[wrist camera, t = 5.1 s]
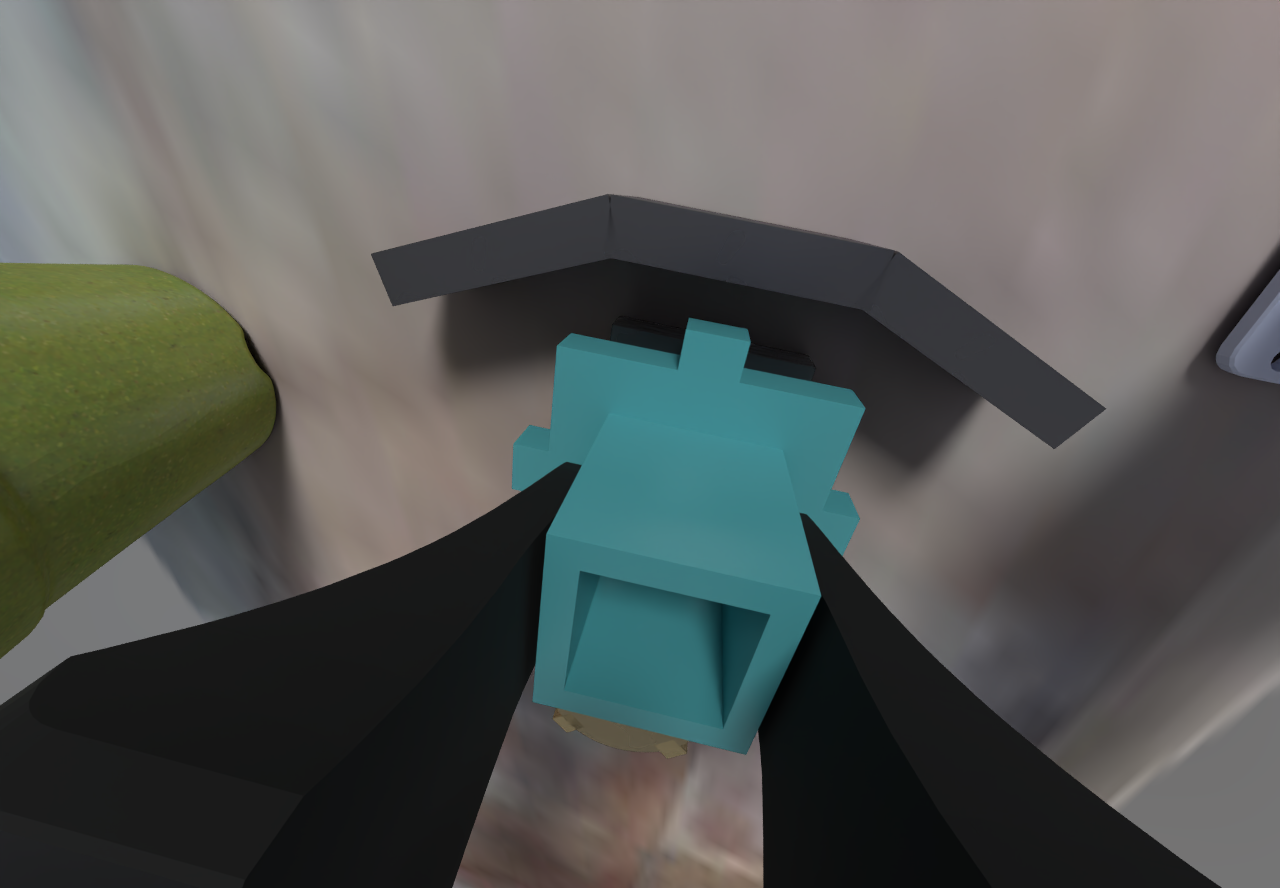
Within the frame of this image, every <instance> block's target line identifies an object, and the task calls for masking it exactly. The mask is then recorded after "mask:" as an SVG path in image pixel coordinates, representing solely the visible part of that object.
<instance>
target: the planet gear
mask: <svg viewBox="0 0 1280 888" xmlns="http://www.w3.org/2000/svg"><path fill="white" fill-rule="evenodd" d="M750 343H751V341H750V337H749V333H748V329H745V328H739V327H734V326H729V325H724V324H719V323H714V322H709V321H704V320H699V319H694V318H689V320H688V324H687V328H686V333H685V337H684V342H683V347H682V352H681V355H677V354H672V353H667V352H662V351H657V350H652V349H647V348H642V347H638V346H633V345H628V344H623V343H618V342H613V341H608V340H603V339H598V338H593V337H588V336H583V335H578V334H573V333H571V334H569V335H568V336H567V337H566V338H565V339H564V340H563V341H562V342H560V343H559V344H558V345H557V351H556V364H555V377H554V390H553V403H552V415H551V428H550V429H546V428H541V427H537V426H532V425H529V426H528V427H527V429H526V430H525V431H524V432H523V433H522V435H521V436H520V437H519V438H518V439H517V440H516V442H515V443H514V445H513V472H512V489H515V490H520V491H523V490H524V489H526V488H527V487H529V486H530V485H532V484H533V483H535V482H536V481H538V480H539V479H541V478H542V477H544V476H545V475H546V474H548V473H549V472H551V471H552V470H554V469H555V468H557V467H558V466H560V465H561V464H563V463H565V462H570V463H575V464H580V465H582V466H581V468H580V470H579V472H578V474H577V476H576V478H575V480H574V482H573V484H572V486H571V488H570V489H569V491H568V493H567V495H566V497H565V499H564V501H563V503H562V505H561V507H560V509H559V511H558V513H557V515H556V516H555V518H554V520H553V522H552V524H551V526H550V528H549V530H548V532H547V534H546V546H545V558H544V570H543V582H542V593H541V605H540V617H539V629H538V641H537V653H536V665H535V677H534V689H533V701H532V702H535V703H539V704H543V705H547V706H551V707H555V708H559V709H563V710H567V711H571V712H575V713H579V714H583V715H587V716H591V717H595V718H599V719H603V720H607V721H611V722H616V723H620V724H624V725H628V726H632V727H636V728H640V729H644V730H648V731H652V732H656V733H660V734H664V735H668V736H672V737H676V738H680V739H684V740H688V741H692V742H696V743H700V744H704V745H708V746H712V747H716V748H721V749H725V750H729V751H733V752H737V753H741V754H745V755H746V754H747V752H748V750H749V748H750V745H751V743H752V741H753V739H754V737H755V735H756V733H757V731H758V729H759V726H760V724H761V722H762V720H763V718H764V716H765V714H766V712H767V710H768V707H769V705H770V703H771V701H772V699H773V697H774V695H775V693H776V691H777V688H778V686H779V684H780V682H781V680H782V678H783V676H784V674H785V672H786V670H787V667H788V665H789V663H790V661H791V659H792V657H793V655H794V653H795V651H796V648H797V646H798V644H799V642H800V640H801V638H802V636H803V634H804V632H805V629H806V627H807V625H808V623H809V621H810V619H811V617H812V615H813V613H814V610H815V608H816V606H817V604H818V602H819V600H820V598H821V593H820V589H819V585H818V582H817V578H816V574H815V570H814V566H813V563H812V559H811V555H810V551H809V547H808V544H807V540H806V536H805V532H804V528H803V525H802V521H801V517H800V513H804V514H807V515H808V516H809V517H810V518H811V519H812V520H813V521H814V523H815V524H816V525H817V526H818V527H819V528H820V530H821V531H822V532H823V533H824V534H825V536H826V537H827V538H828V539H829V541H830V542H831V543H832V544H833V545H834V547H835V548H836V549H837V550H838V552H839V553H840V554H841V555H842V556H843V553H844V551H845V549H846V547H847V545H848V543H849V541H850V539H851V537H852V535H853V532H854V530H855V528H856V526H857V524H858V522H859V520H860V518H859V516H858V513H857V511H856V509H855V507H854V505H853V502H852V500H851V498H850V496H849V493H845V492H840V491H836V490H831V489H832V486H833V484H834V482H835V479H836V477H837V474H838V472H839V470H840V467H841V465H842V463H843V460H844V458H845V456H846V453H847V451H848V449H849V446H850V444H851V442H852V439H853V437H854V434H855V432H856V430H857V427H858V425H859V423H860V420H861V418H862V416H863V413H864V411H865V409H866V408H865V407H864V405H863V404H862V403H861V401H860V400H859V399H858V397H857V396H856V394H855V393H854V392H853V390H851V389H846V388H841V387H836V386H831V385H826V384H821V383H816V382H811V381H806V380H801V379H796V378H791V377H786V376H781V375H776V374H771V373H766V372H762V371H757V370H752V369H747V368H744V364H745V361H746V357H747V353H748V350H749V346H750Z"/></svg>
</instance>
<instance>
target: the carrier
mask: <svg viewBox="0 0 1280 888" xmlns="http://www.w3.org/2000/svg"><path fill="white" fill-rule="evenodd" d="M371 256H372V258H373V260H374V263H375V265H376V268H377V270H378V272H379V275H380V277H381V279H382V282H383V284H384V287H385V289H386V291H387V294H388V296H389V298H390V301H391V303H392V305H393V306H396V305H400V304H405V303H409V302H414V301H418V300H423V299H427V298H432V297H437V296H441V295H446V294H450V293H455V292H459V291H464V290H469V289H473V288H478V287H482V286H487V285H491V284H496V283H500V282H505V281H510V280H514V279H519V278H523V277H528V276H532V275H537V274H541V273H546V272H551V271H555V270H560V269H564V268H569V267H573V266H578V265H583V264H587V263H592V262H596V261H601V260H605V259H610V258H613V259H618V260H623V261H628V262H633V263H638V264H643V265H648V266H652V267H657V268H662V269H667V270H672V271H677V272H682V273H686V274H691V275H696V276H701V277H706V278H711V279H716V280H721V281H725V282H730V283H735V284H740V285H745V286H750V287H755V288H759V289H764V290H769V291H774V292H779V293H784V294H789V295H794V296H798V297H803V298H808V299H813V300H818V301H823V302H828V303H832V304H837V305H842V306H847V307H852V308H857V309H862V310H863V311H865V312H866V313H867V314H869V315H870V316H871V317H873V318H874V319H876V320H877V321H878V322H880V323H881V324H882V325H884V326H885V327H887V328H888V329H889V330H891V331H892V332H893V333H895V334H896V335H898V336H899V337H900V338H902V339H903V340H905V341H906V342H907V343H909V344H910V345H911V346H913V347H914V348H916V349H917V350H918V351H920V352H921V353H922V354H924V355H925V356H927V357H928V358H929V359H931V360H932V361H933V362H935V363H936V364H938V365H939V366H940V367H942V368H943V369H944V370H946V371H947V372H949V373H950V374H951V375H953V376H954V377H956V378H957V379H958V380H960V381H961V382H962V383H964V384H965V385H967V386H968V387H969V388H971V389H972V390H973V391H975V392H976V393H978V394H979V395H980V396H982V397H983V398H984V399H986V400H987V401H989V402H990V403H991V404H993V405H994V406H996V407H997V408H998V409H1000V410H1001V411H1002V412H1004V413H1005V414H1007V415H1008V416H1009V417H1011V418H1012V419H1013V420H1015V421H1016V422H1018V423H1019V424H1020V425H1022V426H1023V427H1024V428H1026V429H1027V430H1029V431H1030V432H1031V433H1033V434H1034V435H1035V436H1037V437H1038V438H1040V439H1041V440H1042V441H1044V442H1045V443H1047V444H1048V445H1049V446H1051V447H1052V448H1053V449H1055V448H1056V447H1058V446H1059V445H1060V444H1062V443H1063V442H1064V441H1065V440H1067V439H1068V438H1069V437H1071V436H1072V435H1073V434H1074V433H1076V432H1077V431H1078V430H1080V429H1081V428H1082V427H1084V426H1085V425H1086V424H1087V423H1089V422H1090V421H1091V420H1093V419H1094V418H1095V417H1096V416H1098V415H1099V414H1100V413H1102V412H1103V411H1104V410H1105V409H1106V408H1105V407H1103V406H1102V405H1101V404H1099V403H1098V402H1097V401H1095V400H1094V399H1093V398H1091V397H1090V396H1089V395H1087V394H1086V393H1085V392H1083V391H1082V390H1081V389H1079V388H1078V387H1077V386H1075V385H1074V384H1073V383H1071V382H1070V381H1069V380H1067V379H1066V378H1065V377H1064V376H1062V375H1061V374H1060V373H1058V372H1057V371H1056V370H1054V369H1053V368H1052V367H1050V366H1049V365H1048V364H1046V363H1045V362H1044V361H1042V360H1041V359H1040V358H1038V357H1037V356H1036V355H1034V354H1033V353H1032V352H1030V351H1029V350H1028V349H1026V348H1025V347H1024V346H1022V345H1021V344H1020V343H1018V342H1017V341H1016V340H1015V339H1013V338H1012V337H1011V336H1009V335H1008V334H1007V333H1005V332H1004V331H1003V330H1001V329H1000V328H999V327H997V326H996V325H995V324H993V323H992V322H991V321H989V320H988V319H987V318H985V317H984V316H983V315H981V314H980V313H979V312H977V311H976V310H975V309H973V308H972V307H971V306H969V305H968V304H967V303H965V302H964V301H963V300H962V299H960V298H959V297H958V296H956V295H955V294H954V293H952V292H951V291H950V290H948V289H947V288H946V287H944V286H943V285H942V284H940V283H939V282H938V281H936V280H935V279H934V278H932V277H931V276H930V275H928V274H927V273H926V272H924V271H923V270H922V269H920V268H919V267H918V266H916V265H915V264H914V263H912V262H911V261H910V260H909V259H907V258H906V257H905V256H903V255H902V254H901V253H899V252H897V251H894V250H891V249H887V248H883V247H879V246H875V245H871V244H867V243H863V242H860V241H856V240H852V239H847V238H842V237H837V236H832V235H827V234H822V233H817V232H812V231H807V230H802V229H797V228H792V227H787V226H782V225H777V224H772V223H766V222H761V221H756V220H751V219H746V218H741V217H736V216H731V215H726V214H721V213H716V212H711V211H706V210H701V209H696V208H691V207H686V206H681V205H675V204H670V203H665V202H660V201H655V200H650V199H645V198H640V197H632V196H622V195H612V194H607V195H603V196H599V197H595V198H591V199H587V200H583V201H579V202H575V203H571V204H567V205H563V206H559V207H555V208H551V209H547V210H543V211H539V212H535V213H531V214H527V215H523V216H519V217H515V218H511V219H507V220H503V221H499V222H495V223H491V224H487V225H483V226H479V227H475V228H471V229H467V230H463V231H459V232H456V233H452V234H448V235H444V236H440V237H436V238H432V239H428V240H424V241H420V242H416V243H412V244H408V245H404V246H400V247H396V248H392V249H388V250H384V251H380V252H376V253H372V254H371ZM685 333H686V330H684V329H680V328H675V327H670V326H665V325H661V324H656V323H651V322H647V321H642V320H637V319H632V318H628V317H623V316H620V317H619V318H618V319H617V320H616V321H615V322H614V323H613V324H612V330H611V336H610V341H613V342H618V343H623V344H628V345H633V346H638V347H642V348H647V349H652V350H657V351H662V352H667V353H672V354H677V355H681V352H682V347H683V342H684V337H685ZM744 368H747V369H752V370H757V371H762V372H766V373H771V374H776V375H781V376H786V377H791V378H796V379H801V380H806V381H811V380H812V377H813V375H814V372H815V369H816V368H815V366H814V364H813V362H812V361H811V359H810V357H809V356H807V355H802V354H798V353H793V352H788V351H784V350H779V349H774V348H769V347H765V346H760V345H755V344H750V346H749V350H748V353H747V357H746V361H745V364H744ZM553 720H554V721H555V722H556V723H557V724H558V725H559V726H560V727H561V728H562V729H564V730H565V731H566V732H571V731H574V730H578V731H579V732H580V733H582V734H583V735H585V736H587V737H589V738H590V739H592V740H595V741H597V742H599V743H601V744H604V745H607V746H610V747H613V748H617V749H621V750H626V751H633V752H659V751H660V752H661V753H662V754H663V755H664V756H665V757H666V758H667V759H668V758H672V757H676V756H680V755H684V754H687V742H688V740H684V739H680V738H676V737H672V736H668V735H664V734H660V733H656V732H652V731H648V730H644V729H640V728H636V727H632V726H628V725H624V724H620V723H616V722H611V721H607V720H603V719H599V718H595V717H591V716H587V715H583V714H579V713H575V712H571V711H567V710H563V709H559V708H556V710H555V713H554V716H553Z"/></svg>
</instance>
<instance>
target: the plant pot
mask: <svg viewBox="0 0 1280 888" xmlns="http://www.w3.org/2000/svg"><path fill="white" fill-rule="evenodd" d="M275 417H276V399H275V392H274V388H273V384H272V381H271V379H270V378H269V376H268V375H267V374H266V373H264V372H263V371H262V370H261V369H260V367H259V366H258V365H257V364H256V362H255V360H254V359H253V357H252V355H251V353H250V351H249V350H248V347H247V344H246V341H245V339H244V333H243V330H242V328H241V327H240V326H239V324H238V323H237V322H236V321H235V320H234V319H233V318H232V317H231V316H230V315H229V314H228V313H227V312H226V311H225V310H224V309H223V308H222V307H221V306H220V305H219V304H218V303H216V302H215V301H214V300H213V299H211V298H210V297H209V296H207V295H206V294H205V293H203V292H202V291H200V290H198V289H197V288H195V287H194V286H192V285H190V284H189V283H187V282H185V281H183V280H181V279H179V278H177V277H175V276H173V275H170V274H168V273H165V272H163V271H160V270H157V269H154V268H149V267H145V266H138V265H97V264H38V263H0V659H1V658H2V657H3V656H4V655H5V654H7V653H8V652H9V651H10V650H11V649H12V648H14V647H15V646H16V645H17V644H19V643H20V642H21V641H22V640H23V639H24V638H25V637H27V636H28V635H29V634H30V633H31V632H32V630H33V629H34V628H35V627H36V626H37V624H38V623H39V621H40V620H41V618H42V617H43V615H44V612H45V609H46V608H48V607H49V606H50V605H51V604H53V603H54V602H56V601H57V600H58V599H59V598H61V597H62V596H63V595H64V594H66V593H67V592H69V591H70V590H71V589H73V588H74V587H75V586H77V585H78V584H79V583H80V582H82V581H83V580H84V579H86V578H87V577H88V576H90V575H91V574H92V573H94V572H95V571H96V570H97V569H99V568H100V567H101V566H103V565H104V564H105V563H107V562H108V561H109V560H111V559H112V558H113V557H115V556H116V555H117V554H119V553H120V552H121V551H123V550H124V549H125V548H126V547H128V546H129V545H130V544H132V543H133V542H134V541H136V540H137V539H138V538H140V537H141V536H142V535H144V534H145V533H147V532H148V531H149V530H151V529H152V528H153V527H155V526H156V525H157V524H159V523H160V522H161V521H163V520H164V519H165V518H167V517H168V516H169V515H171V514H172V513H173V512H174V511H176V510H177V509H178V508H180V507H181V506H182V505H184V504H185V503H186V502H188V501H189V500H190V499H192V498H193V497H194V496H195V495H197V494H198V493H200V492H201V491H202V490H204V489H205V488H206V487H208V486H209V485H211V484H212V483H213V482H215V481H216V480H217V479H219V478H220V477H221V476H223V475H224V474H226V473H227V472H228V471H229V470H231V469H232V468H233V467H235V466H236V465H237V464H239V463H240V462H241V461H243V460H244V459H245V458H246V457H248V456H249V455H250V454H252V453H253V452H254V451H255V450H257V449H258V448H259V447H260V446H262V444H263V443H264V442H265V441H266V440H267V438H268V437H269V435H270V433H271V431H272V429H273V426H274V422H275Z"/></svg>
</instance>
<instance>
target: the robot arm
mask: <svg viewBox="0 0 1280 888" xmlns="http://www.w3.org/2000/svg"><path fill="white" fill-rule="evenodd" d="M1279 352H1280V270H1279V271H1278V272H1277V274H1276V275H1275V276H1274V277H1273V279H1272V280H1271V281H1270V283H1269V284H1268V285H1267V287H1266V288H1265V289H1264V290H1263V292H1262V293H1261V294H1260V296H1259V297H1258V298H1257V299H1256V301H1255V302H1254V303H1253V305H1252V306H1251V307H1250V308H1249V310H1248V311H1247V312H1246V314H1245V315H1244V316H1243V317H1242V319H1241V320H1240V321H1239V323H1238V324H1237V325H1236V326H1235V328H1234V329H1233V330H1232V332H1231V333H1230V334H1229V335H1228V337H1227V338H1226V339H1225V341H1224V342H1223V343H1222V344H1221V346H1220V348H1219V350H1218V352H1217V354H1216V363H1217V365H1218V366H1219V368H1220V369H1222V370H1225V371H1227V372H1230V373H1233V374H1236V375H1239V376H1242V377H1247V378H1252V379H1257V380H1262V381H1267V382H1271V383H1276V384H1280V358H1279V359H1278V360H1276V361H1275V362H1274V363H1271V362H1272V360H1273V358H1274V356H1276V355H1277V354H1278V353H1279ZM581 466H582V465H580V464H575V463H570V462H565V463H563V464H561V465H560V466H558V467H557V468H555V469H554V470H552V471H551V472H549V473H548V474H546V475H545V476H544V477H542V478H541V479H539V480H538V481H536V482H535V483H533V484H532V485H530V486H529V487H527V488H526V489H524V490H523V491H521V492H520V493H518V494H517V495H515V496H514V497H512V498H511V499H509V500H507V501H506V502H504V503H503V504H501V505H500V506H498V507H496V508H495V509H493V510H492V511H490V512H488V513H487V514H485V515H483V516H481V517H479V518H478V519H476V520H474V521H472V522H471V523H469V524H467V525H465V526H464V527H462V528H460V529H458V530H457V531H455V532H453V533H451V534H449V535H447V536H445V537H443V538H441V539H439V540H437V541H435V542H433V543H431V544H429V545H426V546H424V547H422V548H420V549H418V550H415V551H413V552H411V553H409V554H407V555H404V556H402V557H400V558H398V559H395V560H393V561H391V562H388V563H386V564H383V565H380V566H378V567H375V568H373V569H370V570H367V571H365V572H362V573H359V574H357V575H354V576H352V577H349V578H346V579H344V580H341V581H338V582H336V583H333V584H331V585H328V586H325V587H322V588H319V589H317V590H314V591H311V592H308V593H305V594H301V595H298V596H295V597H292V598H289V599H286V600H283V601H280V602H277V603H274V604H270V605H267V606H264V607H260V608H257V609H254V610H250V611H247V612H244V613H240V614H237V615H234V616H230V617H226V618H223V619H219V620H216V621H212V622H208V623H205V624H201V625H197V626H193V627H189V628H186V629H182V630H177V631H174V632H170V633H166V634H161V635H157V636H153V637H149V638H146V639H142V640H138V641H134V642H129V643H125V644H121V645H117V646H113V647H109V648H106V649H101V650H97V651H93V652H88V653H84V654H80V655H75V656H71V657H70V658H68V659H66V660H65V661H63V662H62V663H60V664H59V665H58V666H56V667H55V668H53V669H52V670H51V671H49V672H47V673H46V674H45V675H43V676H42V677H40V678H39V679H37V680H36V681H35V682H33V683H32V684H30V685H29V686H27V687H26V688H25V689H23V690H22V691H20V692H19V693H17V694H16V695H14V696H13V697H12V698H10V699H9V700H7V701H6V702H5V703H3V704H2V705H0V888H452V887H453V884H454V881H455V878H456V875H457V872H458V869H459V866H460V863H461V860H462V857H463V854H464V851H465V849H466V846H467V843H468V840H469V837H470V834H471V831H472V828H473V825H474V823H475V820H476V817H477V814H478V811H479V808H480V805H481V803H482V800H483V797H484V794H485V791H486V788H487V786H488V783H489V780H490V777H491V774H492V771H493V769H494V766H495V763H496V760H497V758H498V755H499V752H500V749H501V746H502V744H503V741H504V738H505V735H506V733H507V730H508V727H509V724H510V722H511V719H512V716H513V713H514V711H515V709H516V706H517V704H518V702H519V699H520V697H521V694H522V692H523V690H524V687H525V685H526V683H527V681H528V679H529V677H530V675H531V672H532V670H533V668H534V666H535V664H536V653H537V641H538V629H539V617H540V605H541V593H542V582H543V570H544V558H545V546H546V534H547V532H548V530H549V528H550V526H551V524H552V522H553V520H554V518H555V516H556V515H557V513H558V511H559V509H560V507H561V505H562V503H563V501H564V499H565V497H566V495H567V493H568V491H569V489H570V488H571V486H572V484H573V482H574V480H575V478H576V476H577V474H578V472H579V470H580V468H581ZM800 517H801V521H802V525H803V528H804V532H805V536H806V540H807V544H808V547H809V551H810V555H811V559H812V563H813V566H814V570H815V574H816V578H817V582H818V585H819V589H820V593H821V598H820V600H819V602H818V604H817V606H816V608H815V610H814V613H813V615H812V617H811V619H810V621H809V623H808V625H807V627H806V629H805V632H804V634H803V636H802V638H801V640H800V642H799V644H798V646H797V648H796V651H795V653H794V655H793V657H792V659H791V661H790V663H789V665H788V667H787V670H786V672H785V674H784V676H783V678H782V680H781V682H780V684H779V686H778V688H777V691H776V693H775V695H774V697H773V699H772V701H771V703H770V705H769V707H768V710H767V712H766V714H765V716H764V718H763V720H762V722H761V724H760V726H759V729H758V733H759V742H760V753H761V767H762V795H763V881H764V888H1221V887H1220V886H1218V885H1217V884H1216V883H1214V882H1213V881H1211V880H1209V879H1208V878H1207V877H1205V876H1204V875H1203V874H1201V873H1200V872H1198V871H1197V870H1196V869H1194V868H1193V867H1192V866H1190V865H1189V864H1187V863H1186V862H1185V861H1183V860H1182V859H1180V858H1179V857H1178V856H1176V855H1175V854H1174V853H1172V852H1171V851H1170V850H1168V849H1167V848H1166V847H1164V846H1163V845H1162V844H1160V843H1159V842H1158V841H1156V840H1155V839H1154V838H1152V837H1151V836H1149V835H1148V834H1147V833H1145V832H1144V831H1143V830H1141V829H1140V828H1139V827H1137V826H1136V825H1135V824H1133V823H1132V822H1131V821H1129V820H1128V819H1127V818H1125V817H1124V816H1123V815H1121V814H1120V813H1119V812H1117V811H1116V810H1115V809H1113V808H1112V807H1111V806H1109V805H1108V804H1107V803H1105V802H1104V801H1103V800H1101V799H1100V798H1099V797H1098V796H1096V795H1095V794H1094V793H1092V792H1091V791H1090V790H1089V789H1087V788H1086V787H1085V786H1083V785H1082V784H1081V783H1080V782H1078V781H1077V780H1076V779H1075V778H1073V777H1072V776H1071V775H1069V774H1068V773H1067V772H1066V771H1064V770H1063V769H1062V768H1061V767H1059V766H1058V765H1057V764H1056V763H1054V762H1053V761H1052V760H1051V759H1050V758H1048V757H1047V756H1046V755H1045V754H1044V753H1042V752H1041V751H1040V750H1039V749H1038V748H1036V747H1035V746H1034V745H1033V744H1031V743H1030V742H1029V741H1028V740H1027V739H1025V738H1024V737H1023V736H1022V735H1021V734H1019V733H1018V732H1017V731H1016V730H1015V729H1013V728H1012V727H1011V726H1010V725H1009V724H1007V723H1006V722H1005V721H1004V720H1003V719H1002V718H1000V717H999V716H998V715H997V714H996V713H995V712H994V711H992V710H991V709H990V708H989V707H988V706H987V705H985V704H984V703H983V702H982V701H981V700H980V699H979V698H978V697H977V696H975V695H974V694H973V693H972V692H971V691H970V690H969V689H968V688H967V687H966V686H965V685H964V684H963V683H961V682H960V681H959V680H958V679H957V678H956V677H955V676H954V675H953V674H952V673H951V672H950V671H949V670H947V669H946V668H945V667H944V666H943V665H942V664H941V663H940V662H939V661H938V660H937V659H936V658H935V657H934V656H933V655H932V654H931V653H930V652H929V651H928V650H927V649H926V648H925V647H924V646H923V645H922V644H921V643H920V642H919V641H918V640H917V639H916V638H915V637H914V636H913V635H912V634H911V633H910V632H909V631H908V630H907V629H906V628H905V627H904V626H903V624H902V623H901V622H900V621H899V620H898V619H897V618H896V617H895V616H894V615H893V614H892V613H891V612H890V611H889V610H888V608H887V607H886V606H885V605H884V604H883V603H882V602H881V601H880V600H879V598H878V597H877V596H876V595H875V594H874V593H873V592H872V591H871V589H870V588H869V587H868V586H867V585H866V584H865V583H864V581H863V580H862V579H861V578H860V577H859V576H858V574H857V573H856V572H855V571H854V570H853V568H852V567H851V566H850V565H849V564H848V562H847V561H846V560H845V559H844V558H843V556H842V555H841V554H840V553H839V552H838V550H837V549H836V548H835V547H834V545H833V544H832V543H831V542H830V541H829V539H828V538H827V537H826V536H825V534H824V533H823V532H822V531H821V530H820V528H819V527H818V526H817V525H816V524H815V523H814V521H813V520H812V519H811V518H810V517H809V516H808V515H807V514H804V513H800Z"/></svg>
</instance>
